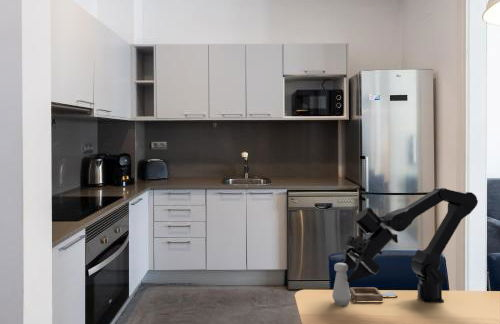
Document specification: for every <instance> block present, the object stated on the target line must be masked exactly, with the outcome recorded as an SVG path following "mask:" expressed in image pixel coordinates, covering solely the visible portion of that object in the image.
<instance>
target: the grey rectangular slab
mask: <svg viewBox="0 0 500 324" xmlns="http://www.w3.org/2000/svg"><path fill="white" fill-rule="evenodd" d="M386 292H387V293H383V294H382V295H383V296H397V297H398V295H397V294H396V293H395V292H394V291H392V292H389V291H386Z"/></svg>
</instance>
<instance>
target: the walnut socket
mask: <svg viewBox="0 0 500 324" xmlns="http://www.w3.org/2000/svg"><path fill="white" fill-rule="evenodd" d="M349 289H350V294H351V296H352V297H353V299H354V300H353V299H352V300H353V301H355V302H354V303H358V302H357V301H383V299H384V298H383V295H382V294H381V293H380V292H381V291H380V290H379V289H378V288H377V287H349ZM352 297H351V298H352ZM383 302H384V301H383Z"/></svg>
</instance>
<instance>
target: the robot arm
mask: <svg viewBox="0 0 500 324" xmlns="http://www.w3.org/2000/svg"><path fill="white" fill-rule="evenodd" d="M478 201H479V200H478V198H477V196H476V194H475V193H473V192H469V191H459V190H457V191H456V190H451V189H447V188H445V187H435V188H433V190H431V191H430V192H429V193H426V194H425V195H423V196H422V197H420V198H418V199H417V200H414V202H412V203H410V204H409V205H407V206H405V207H402V208H398V209H395V210H392V211H390V212H387V213H386V214H385V215H383V216H378V215H377V213H376V212H375V211H374V210H373V209H372V208H371V207H369V206H368V207H366V208H365V209H362V210H360V212H358V213H357V214H356V215H355V216H354V218H353V222H354V223H355V224H356V225H357V226H358V227H359V228H360V229H361V230H362V231H363V232H364V233H365V234H370V235H369V236H368V237H367V238H365V237H361V236H359V235H355V236H352V235H350V234H348V233H347V234H346V235H345V237H344V240H343V241H342V243H343V244H345V245H346V247H344V248H343V261H342V263H345V264H347V265H348V271H346V273H348V272H349V271H351V270H352V269H353V270H352V272H351V273H350V274H349V276H347V282H348V284H350V283H353V282H355V281H358V280H360V279H363V278H366V277H369V276H373V274H374V275H377V274H378V273H379V272H380V265H379V264H378V262H376V261H375V260H374V259H375V258H376V257H377V255H380V256H381V255H382V254H383V249H384V248H385V247H386V246H387V245H388V244H389V243H390V242H392V243H395V244H398V243H399V240H398V237H399V236H398V234H397V233H393V232H392V231H395V232H399V233H401V232H403V231H405V230H406V229H407V228H408V227H410V226H411V224H413V222H414V220H415V219H416V218H418V217H419V216H421V215H422V214H423V213H424V214H425V212H428V210H430V209H432V208H433V207H435V206H436V205H439V204H440V203H441V202H447V212H446V214H445V216H444V218H443V219H442V221H441V222H440V225H439V226H438V228H437V230H436V231H435V233H434V234H433V237H432V238H431V239H430V241H429V242H428V245H427V246H426V248H425V249H423V250H420V249H417V250H416V252H415V254H414V256H413V257H412V258H411V260H412V261H411V269H412V271H413V273H415V275H416V278H418V284H417V297H418V298H419V299H420V300H421V301H423V302H424V303H425V302H426V303H427V302H431V303H432V302H435V303H436V302H439V303H441V302H442V303H444V302H445V300H444V299H443V295H442V293H443V292H442V291H443V289H442V288H443V287H442V285H443V284H445V282H446V281H445V280H446V276H445V275H444V274H443V273H442V272H441V271H440V270H439V269H440V267H441V256H442V254H443V252H444V250H445V249H446V247H447V245H448V243H449V242H450V240H451V239H452V237H453V235H454V233H455V232H456V230H457V228H458V226H459V225H460V224H461V221H462V220H463V219H464V218H465V217H467V216H469V215H470V214H471V213H472V212H473V211H474V210H475V209H476V207H477V206H478V203H479V202H478ZM383 226H384V227H385V228H384V227H383ZM390 230H391V231H390Z"/></svg>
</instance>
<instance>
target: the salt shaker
mask: <svg viewBox="0 0 500 324" xmlns="http://www.w3.org/2000/svg"><path fill="white" fill-rule="evenodd" d="M333 267H334V268H333V269H334V271H335V272H336V273H335V278H334V279H335V280H334V283H333V290H332V298H333V302H334V303H335V305H337V306H339V307H341V306H342V307H345V306H346V307H347V306H348V305H349V303H350V302H351V300H352V297H351V295H350V285H349V284H350V283H349V282H347V279H348V275H347V272H349V271H348V265H347V264H345V263H343V262H337V263H335V264H334V266H333ZM346 271H347V272H346ZM347 304H348V305H347Z"/></svg>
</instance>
